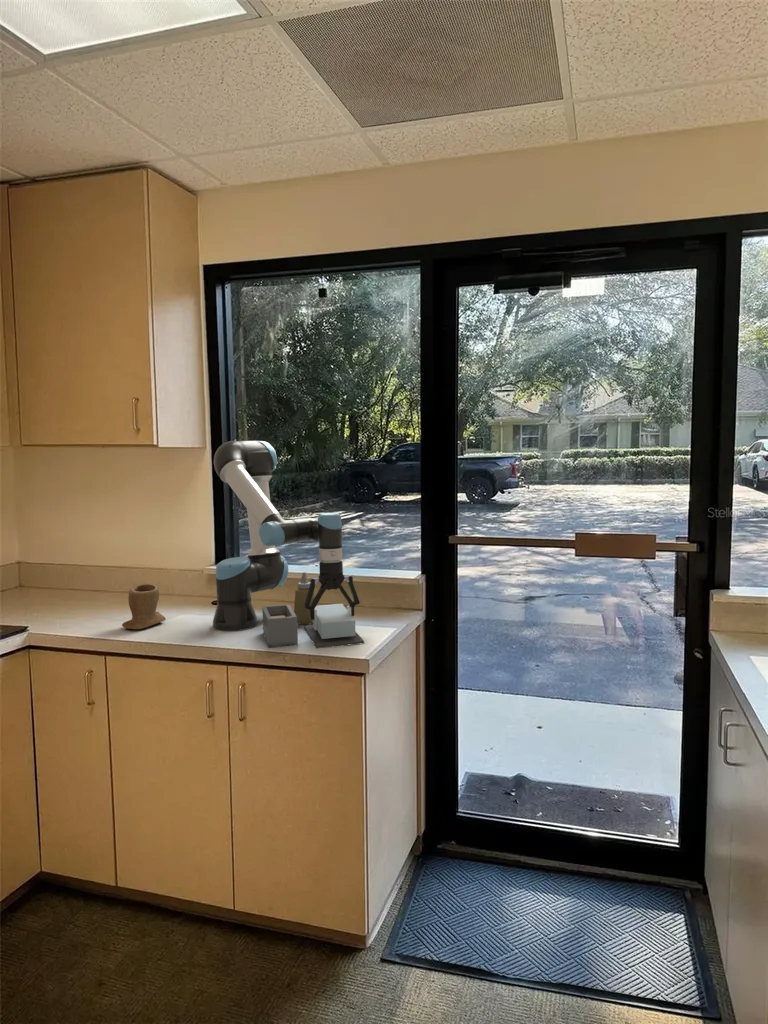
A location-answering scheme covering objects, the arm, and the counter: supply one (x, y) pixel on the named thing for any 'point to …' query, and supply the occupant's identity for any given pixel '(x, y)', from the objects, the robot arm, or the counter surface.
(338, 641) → the mat
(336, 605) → the block
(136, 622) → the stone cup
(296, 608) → the squeeze bottle
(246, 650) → the counter surface
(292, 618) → the storage box
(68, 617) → the counter surface
